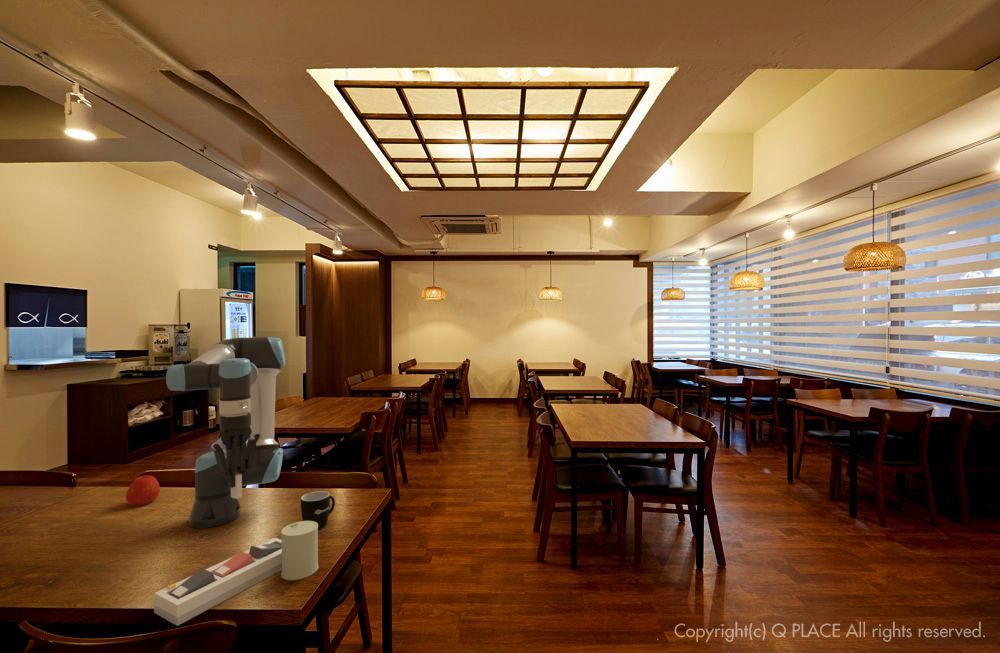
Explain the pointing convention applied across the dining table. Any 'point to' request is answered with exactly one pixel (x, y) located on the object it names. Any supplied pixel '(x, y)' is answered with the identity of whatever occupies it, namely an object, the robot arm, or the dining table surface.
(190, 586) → the rocker
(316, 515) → the mug
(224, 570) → the rocker mid
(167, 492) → the dining table surface
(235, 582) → the strip
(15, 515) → the dining table surface
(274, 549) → the rocker
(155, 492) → the apple
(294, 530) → the can
